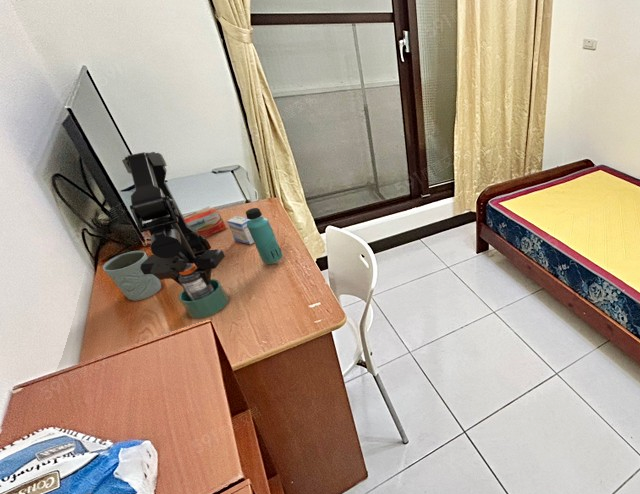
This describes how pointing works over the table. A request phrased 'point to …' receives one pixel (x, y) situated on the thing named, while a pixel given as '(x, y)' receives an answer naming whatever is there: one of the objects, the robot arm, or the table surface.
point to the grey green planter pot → (132, 275)
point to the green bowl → (205, 302)
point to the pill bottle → (194, 283)
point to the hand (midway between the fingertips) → (197, 285)
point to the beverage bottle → (263, 236)
